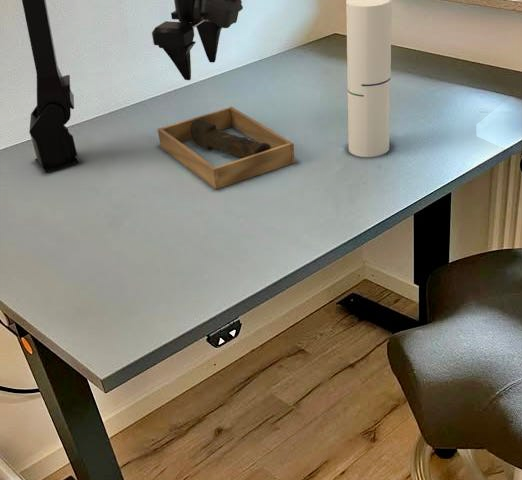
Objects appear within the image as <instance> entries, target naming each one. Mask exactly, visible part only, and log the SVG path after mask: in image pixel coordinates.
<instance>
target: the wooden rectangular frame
mask: <svg viewBox="0 0 522 480" xmlns="http://www.w3.org/2000/svg"><path fill="white" fill-rule="evenodd" d="M195 120H201V121H205V122H208V123H212V124H214V125H216V129H218V130H221V131H223V130H225V129H228V128H232V127H233V128H234V129H236V130H238V131H239V132H241V133H242V134H244V135H246V136H247V137H249V138H250V139H251V140H253V141H254V142H257V143H267V144H269V145H270V149H269V150H266V151H263V152H260V153H257V154H254V155H251V156H248V157H245V158H238V159H236V160H232V161H230V162H227V163H224V164H222V165H221V164H220V165H218V166H214V165H213V164H211V163H210V162H208V161H207V160H206V159H204V158H203V157H201V156H200V155H199V154H197V153H196V152H195V151H194V150H192V149H191V148H190V147H188V146H186V145H185V144H184V143H183V142H187V141H190V140H192V137H191V132H190V129H191V125H192V123H193V122H194V121H195ZM157 135H158V141H159V147H160V148H161V149H162V150H164V151H165V152H166V153H167V154H168V155H170V156H172V158H174V159H175V160H177V161H178V162H179V163H181V164H182V165H183V166H184V167H186V168H187V169H189V170H190V171H191V172H193V174H195V175H197V177H198V178H200V179H202V180H203V181H204V182H206V183H207V184H208V185H210V186H211V187H212V188H213V189H215V190H218V189H219V190H220V189H222V188H224V187H227V186H230V185H234V184H237V183H239V182H242V181H245V180H248V179H251V178H253V177H257V176H259V175H263V174H266V173H269V172H271V171H274V170H277V169H280V168H283V167H287V166H289V165H291V164H295V163H296V156H295V155H296V154H295V144H294V142H293V141H291V140H289V139H288V138H286V137H284V136H283V135H280V134H279V133H277V132H275V131H274V130H272V129H271V128H269V127H267V126H266V125H264V124H262V123H260V122H258V121H257V120H255V119H253V118H252V117H250V116H249V115H247V114H245V113H243V112H241V111H240V110H239V109H236V108H235V107H233V106H229V107H225V108H222V109H219V110H215V111H212V112H208V113H206V114H202V115H199V116H196V117H192V118H189V119H185V120H183V121H178V122H175V123H173V124H170V125H166V126H163V127H159V128H157Z"/></svg>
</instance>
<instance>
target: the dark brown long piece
mask: <svg viewBox="0 0 522 480" xmlns="http://www.w3.org/2000/svg"><path fill="white" fill-rule="evenodd" d="M190 132H191V137H192V139H191V140H192V141H193V142H194V143H195V144H197V145H198V146H199V147H202V148H204V149H205V150H207V151H208V150H209V151H211V150H217V151H220V152H222V153H226V154H229V155H232V156H234V157H236V158H238V159H242V158H245V157H248V156H251V155H254V154H257V153H260V152H263V151H266V150H269V149H270V145H269V144H267V143H258V142H257V141H255V140H253V139H249V138H248V137H245V136H242V137H241V136H238V135H235V134H232V133H229V132H226V131H225V130H224V131H223V130H218V129H216V125H214V124H212V123H208V122H205V121H201V120H195V121H194V122H193V123H192V125H191V129H190Z"/></svg>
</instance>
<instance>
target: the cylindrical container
mask: <svg viewBox="0 0 522 480" xmlns="http://www.w3.org/2000/svg"><path fill="white" fill-rule="evenodd" d="M345 1H346V2H345V4H346V5H345V7H346V14H345V15H346V57H347V58H346V66H347V67H346V68H347V69H346V71H347V116H348V117H347V124H348V125H347V129H348V131H347V132H348V152H349V153H350V154H351V155H353V156H356V157H361V158H374V157H375V158H376V157H379V156H382V155H384V154H386V153H387V152H388V151H389V150H390V128H391V127H390V125H391V124H390V123H391V121H390V120H391V72H392V71H391V67H392V65H391V64H392V63H391V62H392V61H391V60H392V12H393V11H392V9H393V8H392V7H393V6H392V5H393V0H345Z"/></svg>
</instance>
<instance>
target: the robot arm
mask: <svg viewBox="0 0 522 480" xmlns="http://www.w3.org/2000/svg"><path fill="white" fill-rule="evenodd" d="M21 2H22V7H23V13H24V17H25V23H26V28H27V32H28V39H29V43H30V48H31V52H32V58H33V62H34V67H35V73H36V106H35V107H34V108H33V110H32V111H31V113H30V120H29V134H30V135H29V136H30V138H31V142H32V145H33V149H34V152H35V156H36V158H35V159H34V161H35V163H36V164H37V165H38V166H39V168H41V169H42V171H43V172H44V173H50V172H54V171H57V170H61V169H63V168H67V167H70V166H73V165H76V164H78V163H80V161H79V159H78V158H77V157H78V152H77V149H76V143H75V140H74V136H73V134H71V133H70V132H69V128H68V127H67V126H66V124H67V123H68V122H69V121H70V119H71V114H72V113H71V111H72V110H74V109H75V97H74V96H75V95H74V93H73V92H72V89H71V75H70V74H67V75H62V73H61V70H60V68H59V65H58V60H57V55H56V50H55V43H54V39H53V34H52V27H51V23H50V22H51V21H50V16H49V12H48V6H47V1H46V0H21ZM173 3H174V11H173V12H171V13H170V16H171V20H178V21H167V20H166V21H164V22H162V23H160V24H159V25H157V26H156V27H155V28H154V29H153V30H152V32H151V37H152V42H153V43H152V44H153V45H154V46H158V48H159V49H162V50H163V51H164V52H165V53H166V55H167V56H168V57H169V59H170V60H171V62H172V63H173V64H174V66H175V67H176V69H177V70H178V72H179V73H180V75H181V77H182V78H183V80H184V81H191V79H192V64H191V63H192V62H191V61H192V60H191V50H192V49H193V47H194V46H195V45H196V43H197V41H196V40H195V41H194V38H195V28H196V30H197V33H198V35H199V39H200V41H201V44H202V47H203V50H204V52H205V55H206V58H207V60H208V62H209V63H212V64H213V63H215V62H216V59H217V55H218V54H217V53H218V48H219V41H220V36H221V31H222V30H223V29H229V28H230V27H231V26H232V25H233V24H236V23H237V21H238V17H239V13H240V12H241V11H242V10H243V9H244V6H243V5H242V3H243V2H242V0H173ZM71 109H72V110H71Z"/></svg>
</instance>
